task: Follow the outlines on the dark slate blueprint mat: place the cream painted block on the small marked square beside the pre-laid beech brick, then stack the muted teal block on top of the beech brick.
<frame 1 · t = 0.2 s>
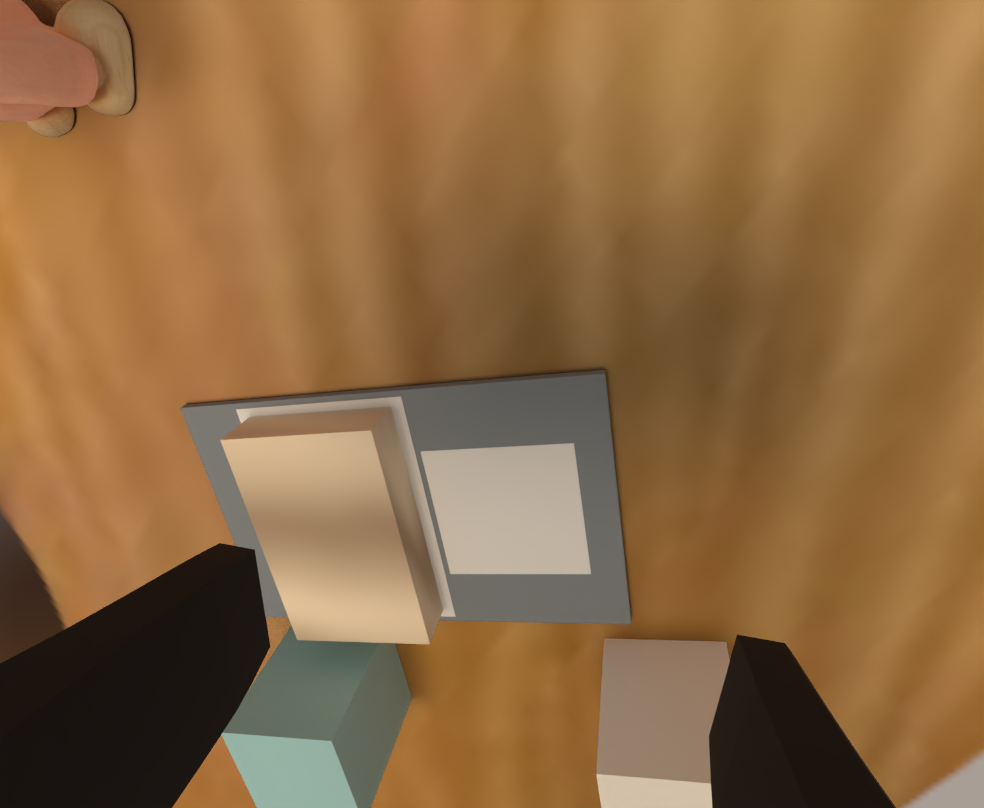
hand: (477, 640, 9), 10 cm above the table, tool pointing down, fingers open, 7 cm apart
slate mat: (408, 510, 21), on the table
beech brick: (350, 517, 21), resting on slate mat
grandmother figurine: (60, 74, 17), on the table
cream block: (667, 682, 22), on the table
teal block: (354, 659, 25), on the table
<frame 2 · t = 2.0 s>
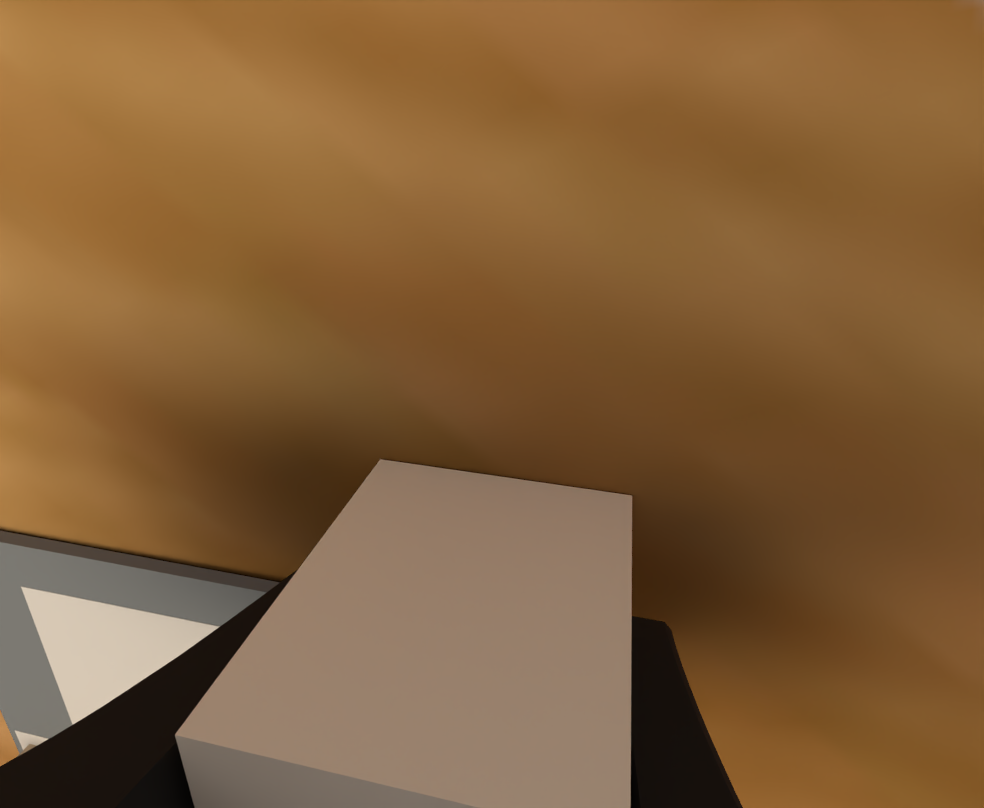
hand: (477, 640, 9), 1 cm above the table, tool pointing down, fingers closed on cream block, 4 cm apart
slate mat: (184, 780, 15), on the table
cream block: (496, 577, 10), on the table, touching gripper
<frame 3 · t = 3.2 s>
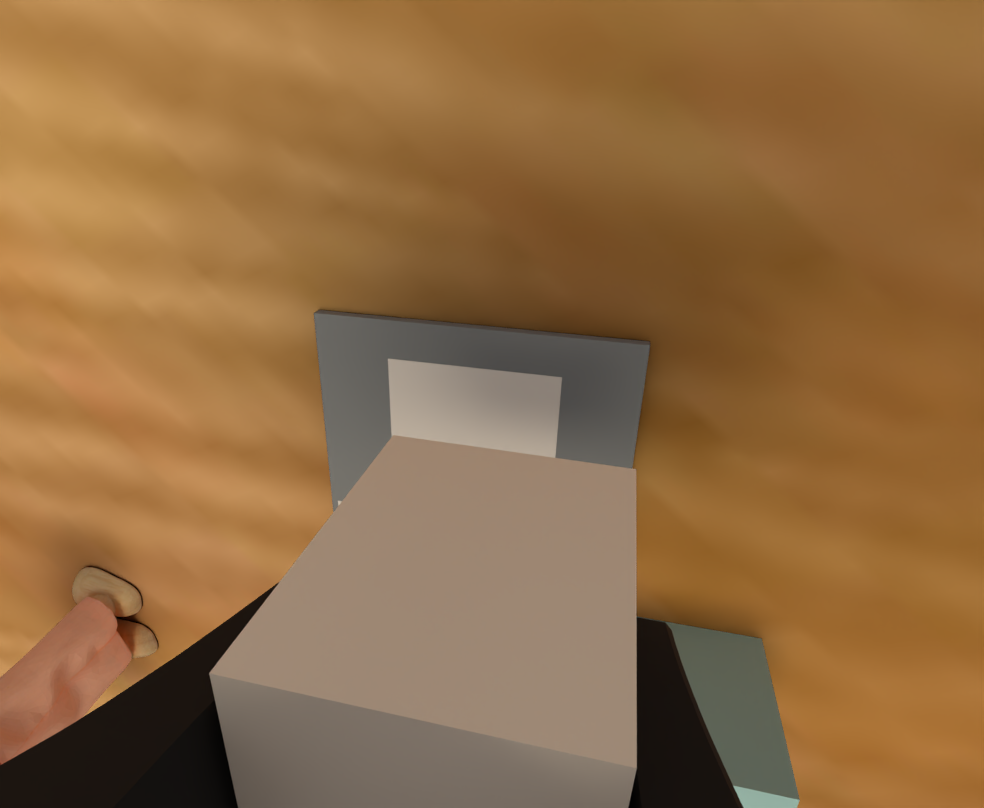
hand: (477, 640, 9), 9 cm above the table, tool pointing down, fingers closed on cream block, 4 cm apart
slate mat: (472, 539, 19), on the table
grandmother figurine: (126, 619, 25), on the table
cream block: (504, 550, 11), point 7 cm above the table, touching gripper
teal block: (682, 672, 20), on the table
when the fingers open (3 cm above the table, at t = 4.7 s): cream block stays where it is, resting on slate mat.
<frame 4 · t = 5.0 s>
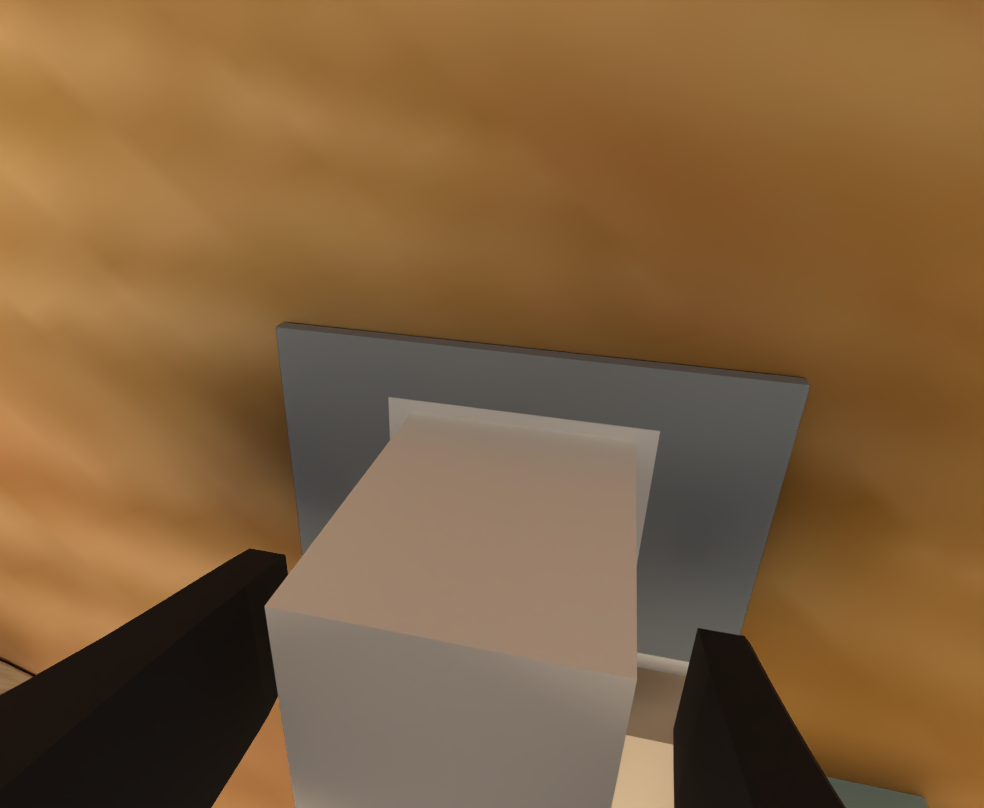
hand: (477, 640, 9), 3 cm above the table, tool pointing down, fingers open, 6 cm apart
slate mat: (506, 647, 14), on the table
beech brick: (499, 722, 14), resting on slate mat
grandmother figurine: (40, 719, 19), on the table
cream block: (513, 519, 12), resting on slate mat
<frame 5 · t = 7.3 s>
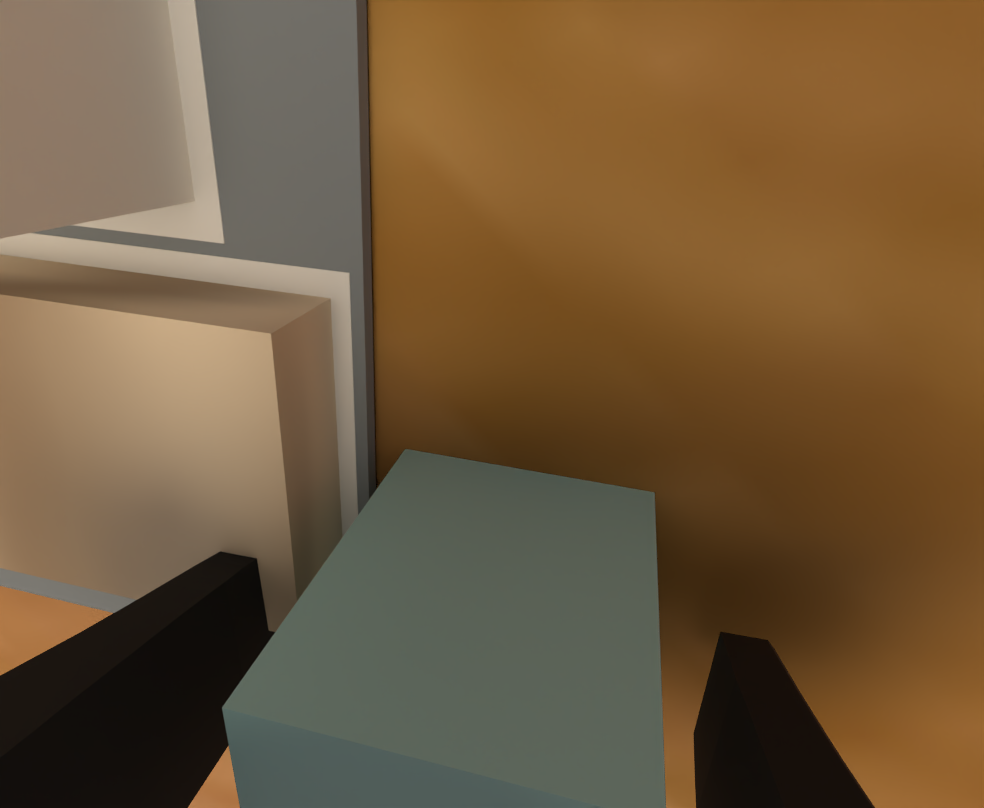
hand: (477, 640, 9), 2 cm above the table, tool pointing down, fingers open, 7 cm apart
slate mat: (110, 292, 10), on the table
beech brick: (120, 411, 11), resting on slate mat, touching gripper
cream block: (37, 27, 8), resting on slate mat
teal block: (515, 567, 11), on the table
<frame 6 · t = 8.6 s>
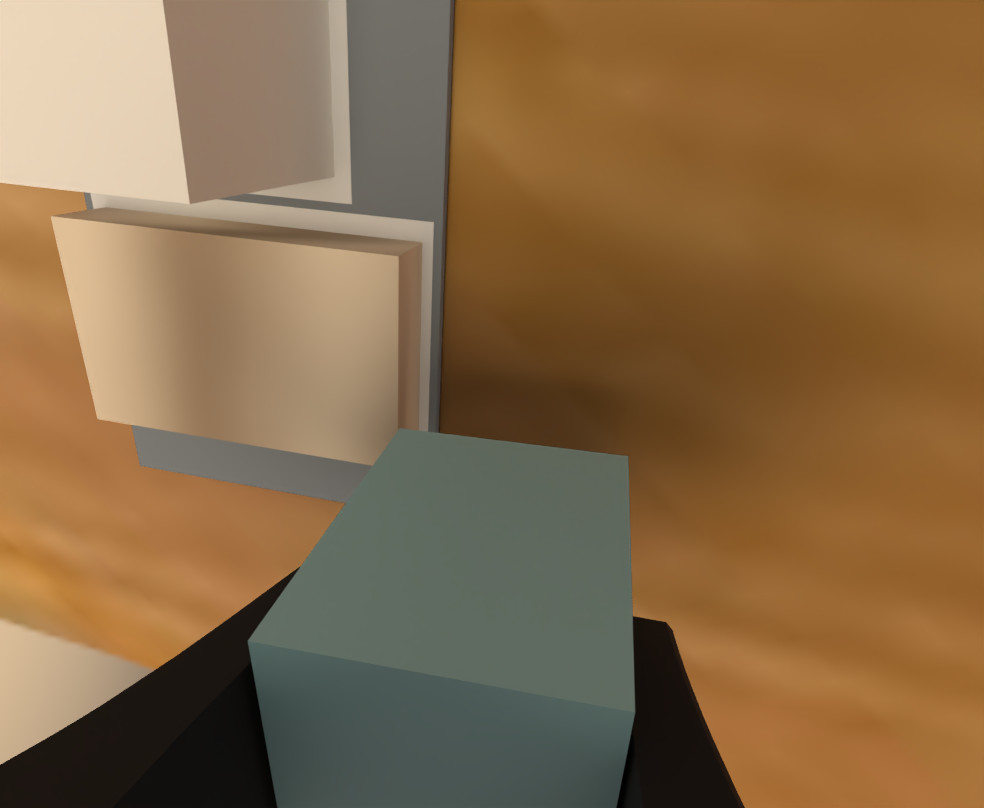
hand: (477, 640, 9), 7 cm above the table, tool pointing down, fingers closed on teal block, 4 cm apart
slate mat: (264, 240, 15), on the table
beech brick: (267, 326, 15), resting on slate mat
cream block: (241, 67, 13), resting on slate mat
teal block: (505, 535, 11), point 4 cm above the table, touching gripper
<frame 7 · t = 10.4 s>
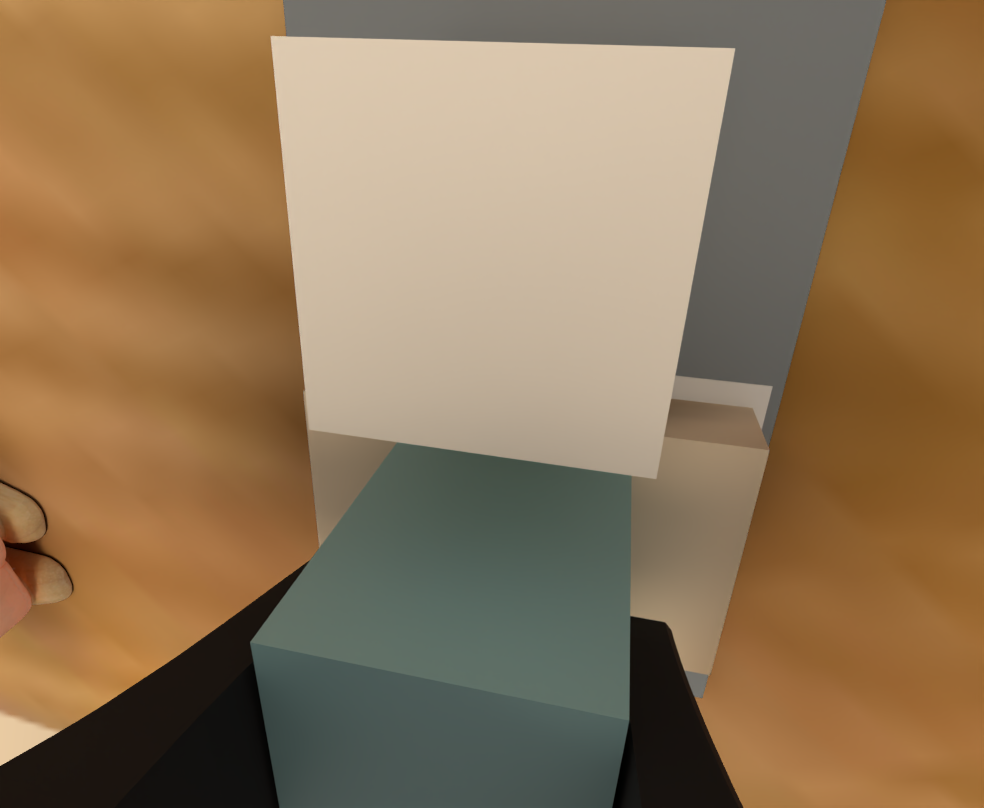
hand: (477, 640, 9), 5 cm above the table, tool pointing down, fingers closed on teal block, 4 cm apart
slate mat: (532, 396, 12), on the table
beech brick: (526, 491, 13), resting on slate mat, touching teal block
grandmother figurine: (28, 551, 18), on the table
cream block: (545, 209, 10), resting on slate mat
teal block: (509, 539, 12), point 2 cm above the table, touching beech brick, gripper
when the fingers open (5 cm above the table, at t = 10.8 s): teal block stays where it is, resting on beech brick.
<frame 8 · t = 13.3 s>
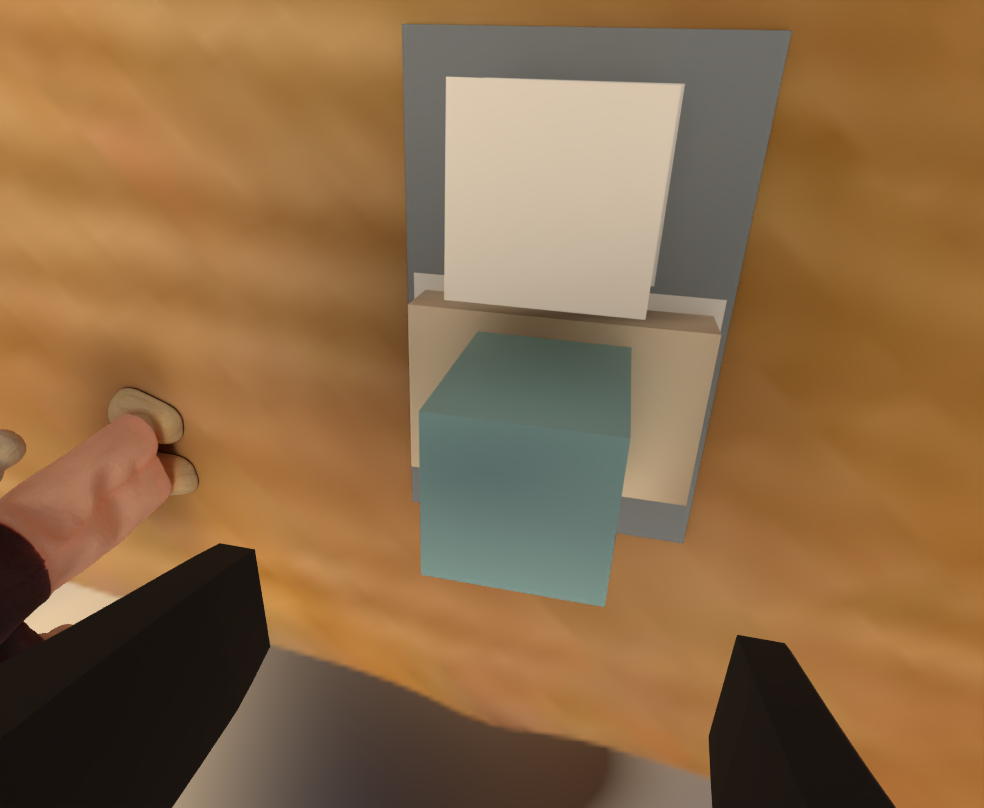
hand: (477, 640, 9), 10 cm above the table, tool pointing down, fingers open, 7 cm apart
slate mat: (562, 314, 18), on the table
beech brick: (556, 384, 18), resting on slate mat, touching teal block
grandmother figurine: (163, 454, 23), on the table
cream block: (574, 179, 16), resting on slate mat
teal block: (547, 408, 17), point 2 cm above the table, touching beech brick
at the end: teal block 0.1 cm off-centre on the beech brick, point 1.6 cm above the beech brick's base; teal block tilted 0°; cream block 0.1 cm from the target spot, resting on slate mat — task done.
